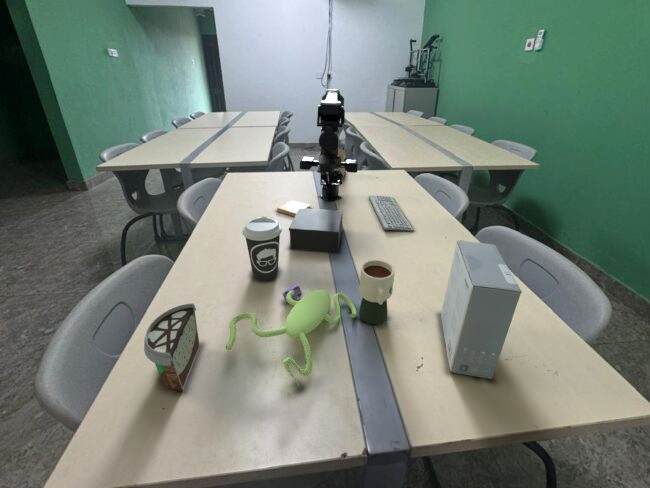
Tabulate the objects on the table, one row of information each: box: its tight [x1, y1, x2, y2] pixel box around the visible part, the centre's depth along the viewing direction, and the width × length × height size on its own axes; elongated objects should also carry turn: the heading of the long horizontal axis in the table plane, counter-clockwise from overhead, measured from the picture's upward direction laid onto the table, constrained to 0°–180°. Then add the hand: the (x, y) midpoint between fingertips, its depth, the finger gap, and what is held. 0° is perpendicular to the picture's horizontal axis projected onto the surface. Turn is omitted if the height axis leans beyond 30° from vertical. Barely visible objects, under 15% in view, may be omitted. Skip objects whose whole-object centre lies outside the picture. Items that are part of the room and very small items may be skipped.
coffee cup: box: [242, 216, 283, 282], centre depth 81 cm, size 10×10×15 cm
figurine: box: [225, 283, 358, 388], centre depth 66 cm, size 18×27×6 cm
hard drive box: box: [440, 240, 523, 380], centre depth 61 cm, size 16×8×20 cm, turn 170°
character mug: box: [358, 259, 396, 325], centre depth 68 cm, size 11×7×13 cm, turn 4°
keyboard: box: [368, 194, 414, 232], centre depth 121 cm, size 29×10×2 cm, turn 5°
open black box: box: [289, 213, 344, 254], centre depth 100 cm, size 14×15×7 cm
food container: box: [143, 303, 201, 392], centre depth 56 cm, size 12×6×10 cm, turn 5°
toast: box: [276, 199, 311, 217], centre depth 121 cm, size 9×9×2 cm
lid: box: [288, 208, 344, 234], centre depth 98 cm, size 15×15×1 cm
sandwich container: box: [338, 149, 347, 178], centre depth 160 cm, size 9×15×15 cm, turn 172°
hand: (328, 189), depth 107 cm, fingers closed
